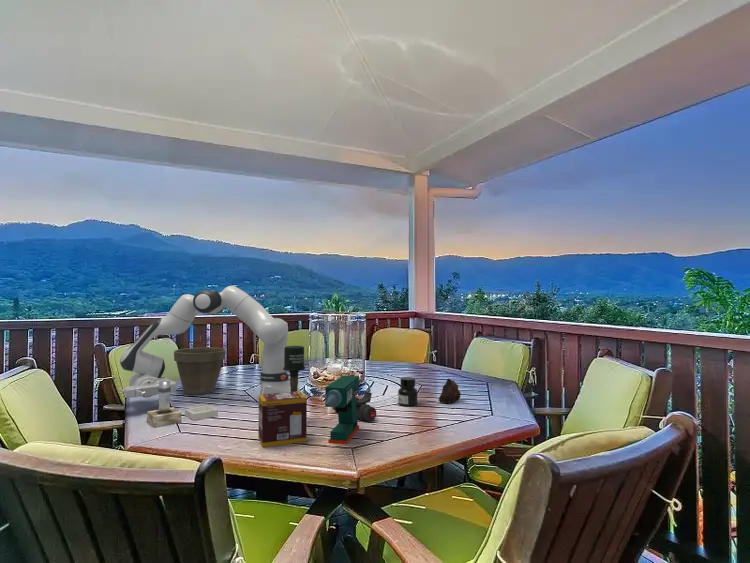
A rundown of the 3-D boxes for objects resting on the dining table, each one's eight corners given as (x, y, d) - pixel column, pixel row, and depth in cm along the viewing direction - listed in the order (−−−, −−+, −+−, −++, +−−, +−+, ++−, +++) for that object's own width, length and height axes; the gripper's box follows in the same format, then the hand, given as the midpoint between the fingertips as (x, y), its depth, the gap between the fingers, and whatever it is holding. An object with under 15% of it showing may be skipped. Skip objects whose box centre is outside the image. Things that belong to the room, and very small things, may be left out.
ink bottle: (395, 402, 207) (395, 377, 207) (412, 401, 210) (412, 375, 210) (402, 407, 198) (402, 381, 198) (420, 406, 201) (420, 379, 201)
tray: (208, 411, 192) (208, 405, 192) (217, 415, 184) (217, 409, 184) (184, 415, 185) (184, 409, 185) (193, 420, 177) (193, 414, 178)
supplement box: (257, 438, 157) (258, 394, 157) (300, 433, 163) (300, 390, 163) (261, 447, 147) (262, 401, 148) (306, 442, 153) (307, 397, 154)
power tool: (336, 459, 138) (337, 395, 138) (315, 457, 139) (315, 393, 139) (360, 428, 169) (360, 375, 169) (342, 426, 170) (343, 375, 171)
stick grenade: (286, 426, 170) (287, 348, 171) (280, 420, 178) (280, 346, 178) (307, 423, 174) (308, 347, 175) (300, 417, 182) (301, 345, 182)
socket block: (173, 416, 183) (173, 407, 183) (181, 422, 175) (181, 412, 175) (146, 421, 176) (147, 411, 176) (154, 427, 168) (154, 417, 169)
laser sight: (345, 409, 196) (345, 386, 196) (381, 420, 180) (381, 395, 180) (328, 413, 189) (328, 390, 190) (363, 425, 173) (364, 399, 173)
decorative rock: (453, 398, 215) (453, 376, 215) (463, 401, 210) (463, 378, 211) (436, 402, 207) (436, 379, 208) (446, 405, 203) (446, 381, 203)
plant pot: (213, 384, 245) (214, 345, 246) (233, 392, 227) (233, 349, 228) (166, 391, 229) (167, 349, 229) (183, 400, 210) (184, 354, 211)
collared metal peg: (172, 420, 177) (173, 380, 177) (164, 424, 173) (164, 383, 173) (163, 419, 178) (164, 380, 179) (155, 423, 174) (155, 382, 174)
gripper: (120, 383, 188) (128, 388, 178) (170, 376, 202) (180, 381, 191) (120, 397, 188) (127, 404, 178) (170, 390, 202) (180, 396, 191)
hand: (155, 392), depth 185 cm, fingers open, 8 cm apart
